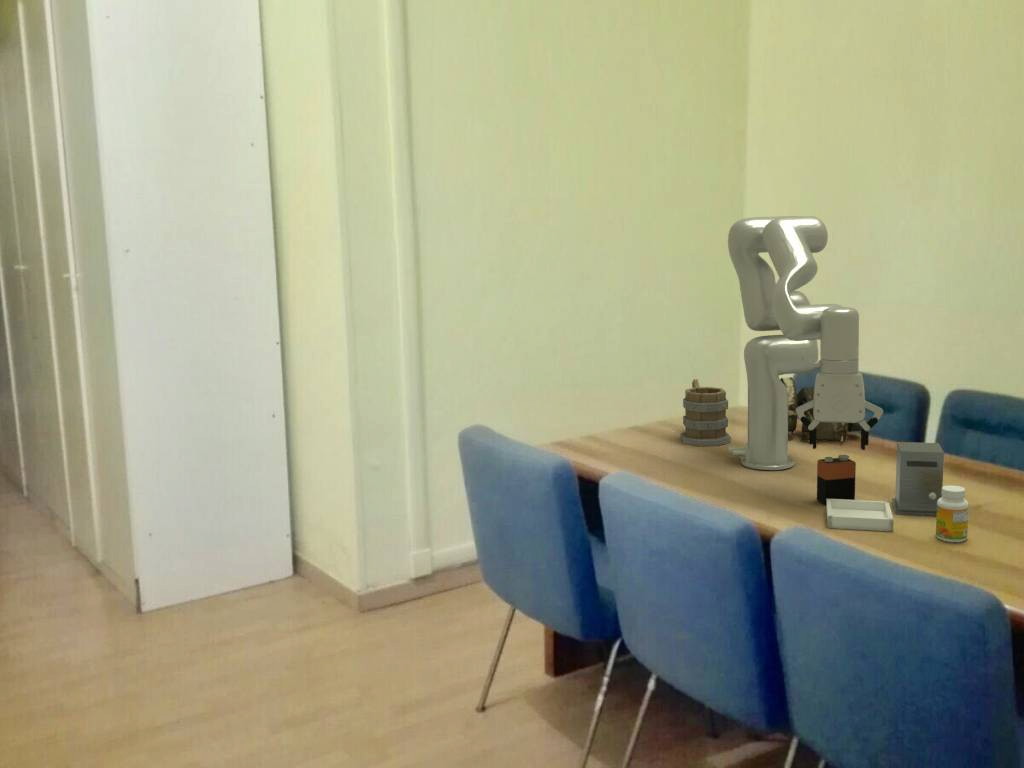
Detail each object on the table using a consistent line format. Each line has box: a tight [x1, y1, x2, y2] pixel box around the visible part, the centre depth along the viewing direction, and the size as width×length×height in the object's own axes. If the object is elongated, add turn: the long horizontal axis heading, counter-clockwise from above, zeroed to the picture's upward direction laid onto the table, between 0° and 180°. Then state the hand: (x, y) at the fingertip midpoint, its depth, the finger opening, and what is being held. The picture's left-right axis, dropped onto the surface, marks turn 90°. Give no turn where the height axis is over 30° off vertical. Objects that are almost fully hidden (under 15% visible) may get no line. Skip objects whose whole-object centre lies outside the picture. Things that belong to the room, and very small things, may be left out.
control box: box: [891, 441, 945, 517], centre depth 201 cm, size 9×9×13 cm
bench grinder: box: [779, 376, 867, 443], centre depth 263 cm, size 20×22×20 cm
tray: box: [825, 499, 895, 532], centre depth 196 cm, size 12×12×2 cm
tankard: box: [680, 378, 732, 447], centre depth 268 cm, size 20×13×15 cm, turn 179°
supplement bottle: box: [935, 485, 970, 543], centre depth 183 cm, size 5×5×10 cm
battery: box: [816, 454, 857, 506], centre depth 207 cm, size 4×7×10 cm, turn 100°
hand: (838, 448), depth 206 cm, fingers open, 9 cm apart
